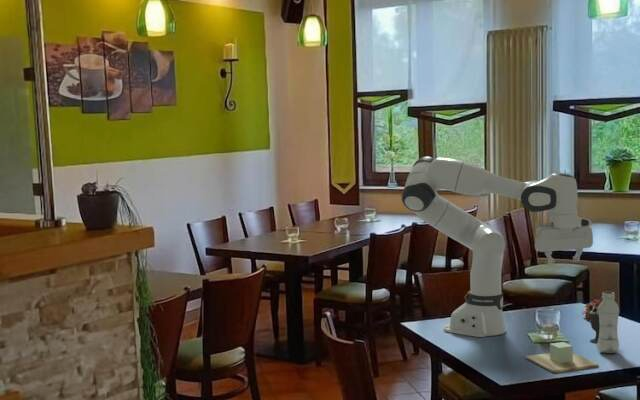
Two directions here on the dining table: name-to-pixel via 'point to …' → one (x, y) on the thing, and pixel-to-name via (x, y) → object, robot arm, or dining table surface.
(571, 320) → the dining table surface
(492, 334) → the robot arm
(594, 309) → the sundae
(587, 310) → the flower
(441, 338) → the dining table surface
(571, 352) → the sage block
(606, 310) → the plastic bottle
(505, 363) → the dining table surface
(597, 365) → the tan square board
